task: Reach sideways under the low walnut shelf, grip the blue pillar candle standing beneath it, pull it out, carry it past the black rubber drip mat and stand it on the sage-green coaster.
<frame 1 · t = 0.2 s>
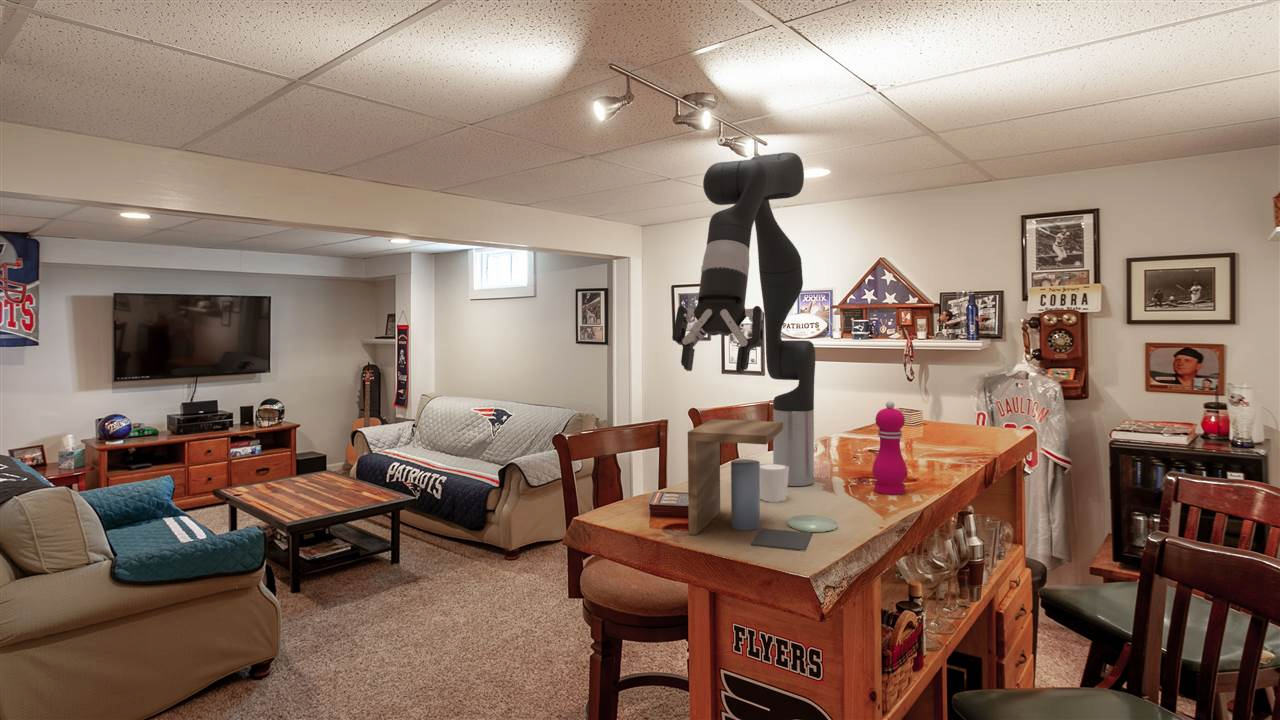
hand: (713, 371, 105), 30 cm above the table, tool tilted 20°, fingers open, 8 cm apart
white cup: (772, 499, 142), on the table
shelf: (737, 525, 124), on the table
drip mat: (782, 539, 116), on the table
coaster: (812, 525, 124), on the table
blue pillar candle: (745, 526, 124), on the table
pepper mill: (889, 492, 147), on the table
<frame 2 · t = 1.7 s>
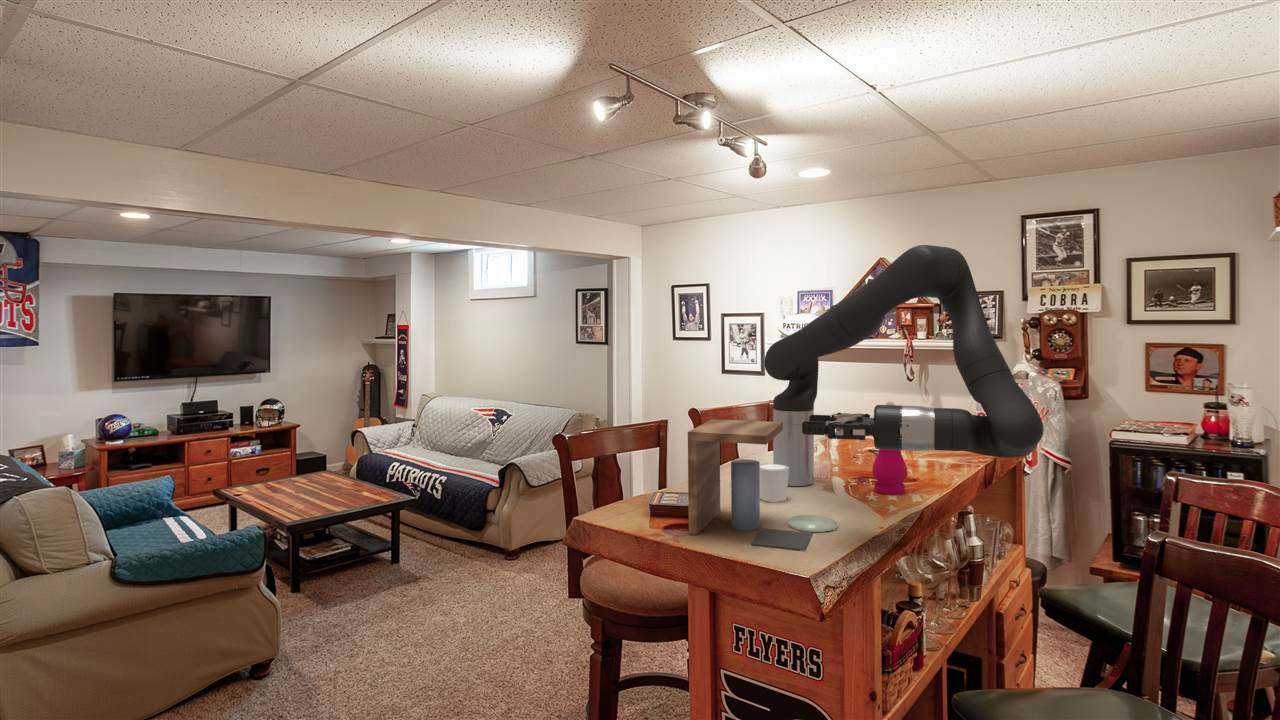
hand: (806, 424, 118), 20 cm above the table, tool horizontal, fingers open, 8 cm apart
nothing on the table moved.
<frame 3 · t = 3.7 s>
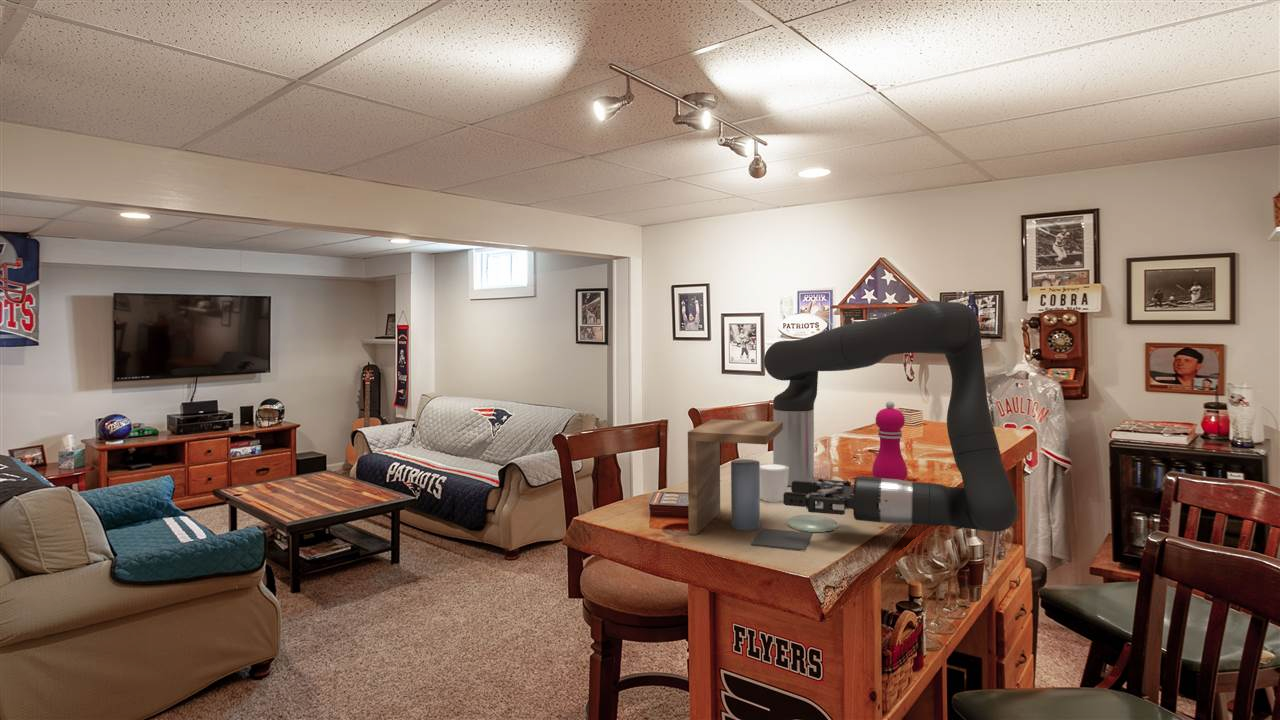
hand: (787, 492, 120), 7 cm above the table, tool horizontal, fingers open, 8 cm apart
nothing on the table moved.
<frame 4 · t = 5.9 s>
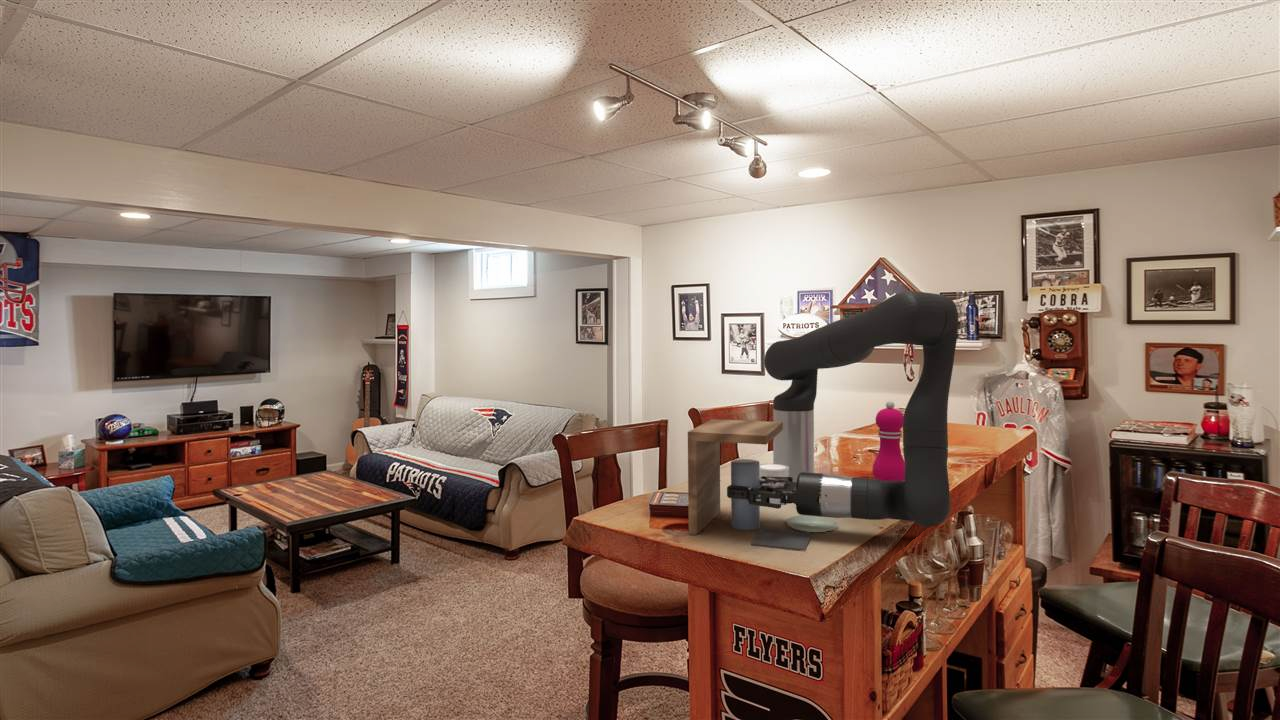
hand: (731, 487, 124), 7 cm above the table, tool horizontal, fingers closed on blue pillar candle, 5 cm apart
blue pillar candle: (745, 526, 124), on the table, touching gripper
everything else where it was.
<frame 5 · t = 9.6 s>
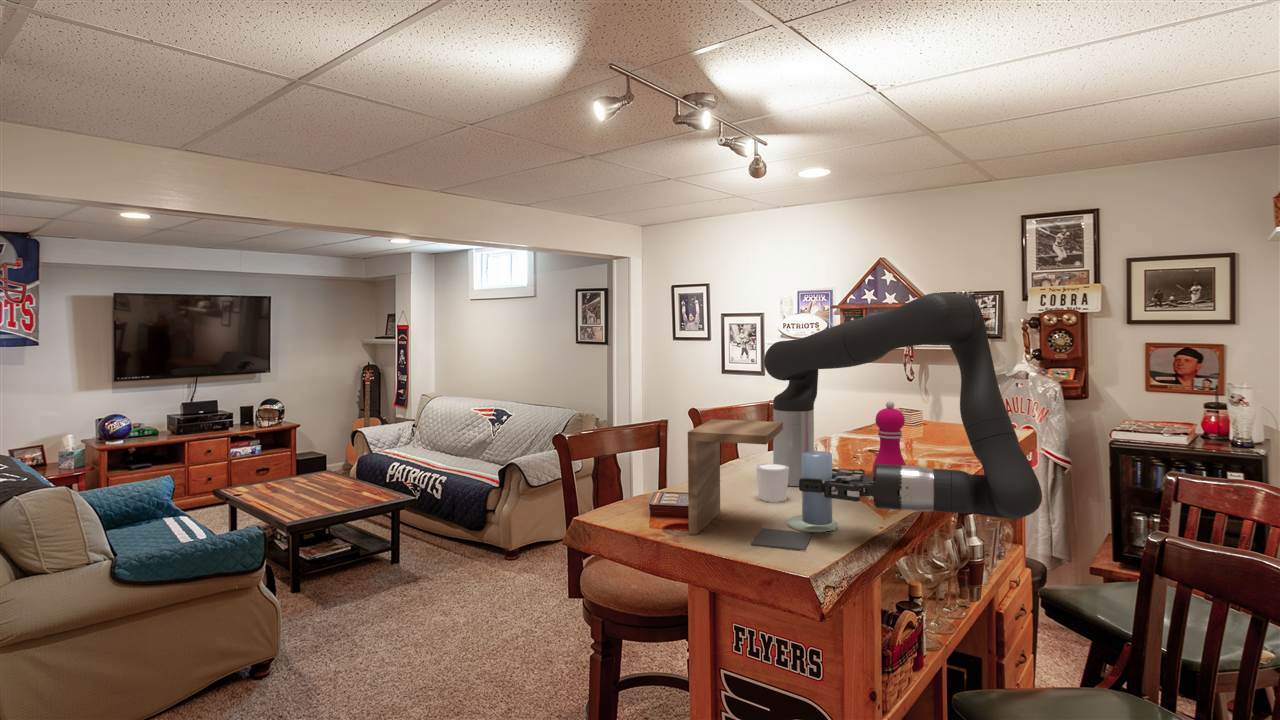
hand: (802, 480, 119), 9 cm above the table, tool horizontal, fingers closed on blue pillar candle, 5 cm apart
blue pillar candle: (817, 520, 119), point 2 cm above the table, touching gripper
everything else where it was.
when the fingers open (8 cm above the table, at t = 13.3 s): blue pillar candle stays where it is, resting on coaster.
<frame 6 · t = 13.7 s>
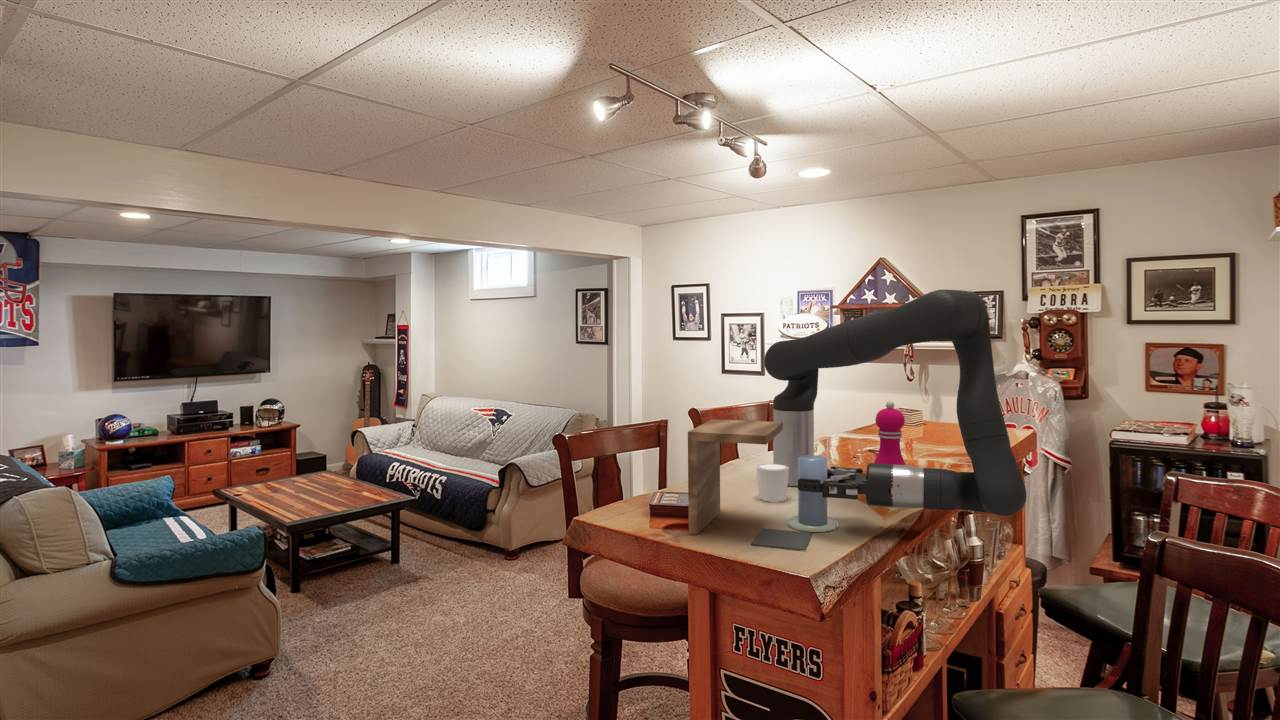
hand: (801, 479, 124), 8 cm above the table, tool horizontal, fingers open, 8 cm apart
blue pillar candle: (812, 522, 124), point 1 cm above the table, touching coaster
everything else where it was.
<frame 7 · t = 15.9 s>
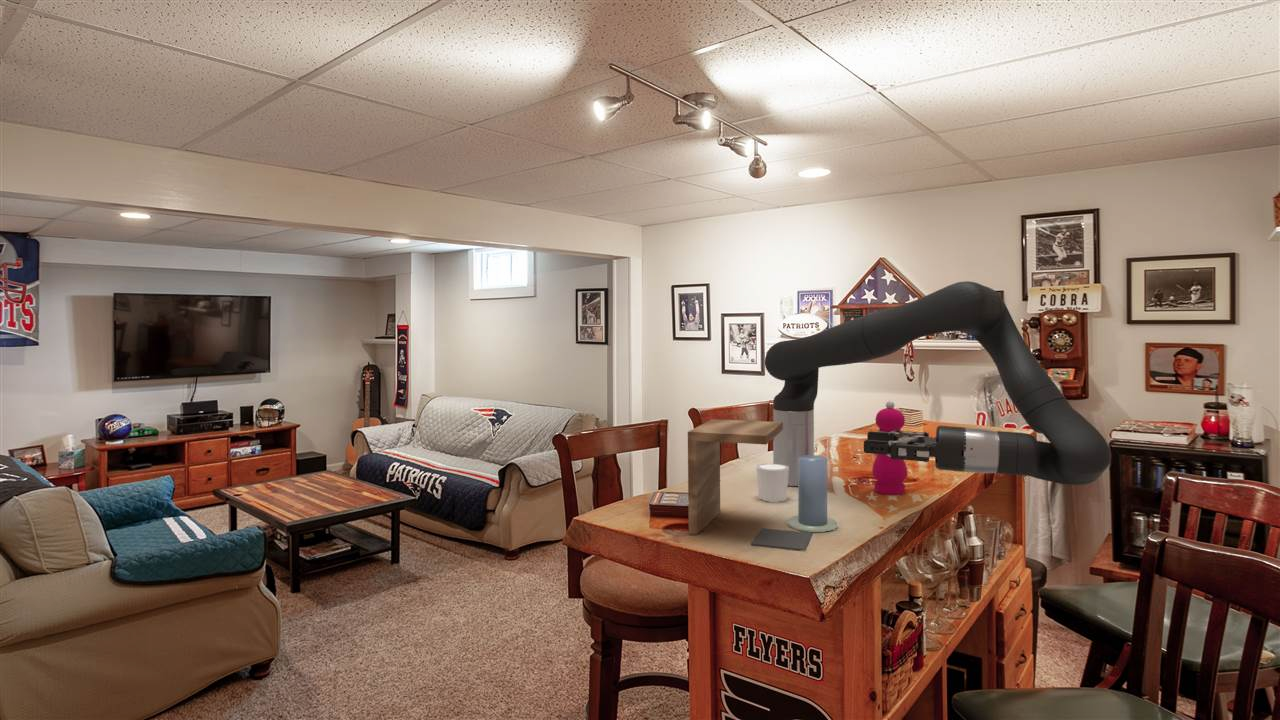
hand: (865, 441, 119), 16 cm above the table, tool horizontal, fingers open, 8 cm apart
nothing on the table moved.
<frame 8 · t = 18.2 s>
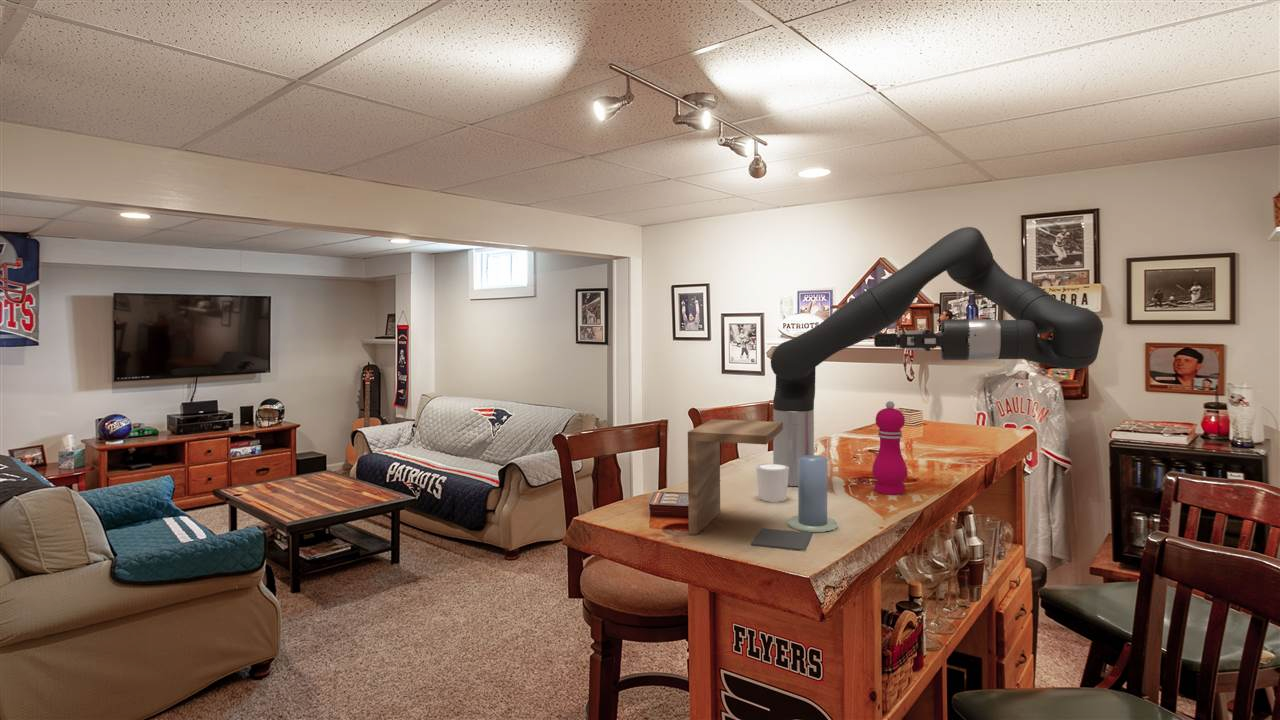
hand: (875, 340, 127), 34 cm above the table, tool horizontal, fingers open, 8 cm apart
nothing on the table moved.
at the end: blue pillar candle inside the target area on the coaster (0.1 cm from its centre), point 0.6 cm above the coaster's base; blue pillar candle tilted 0°; the gripper is holding nothing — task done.
